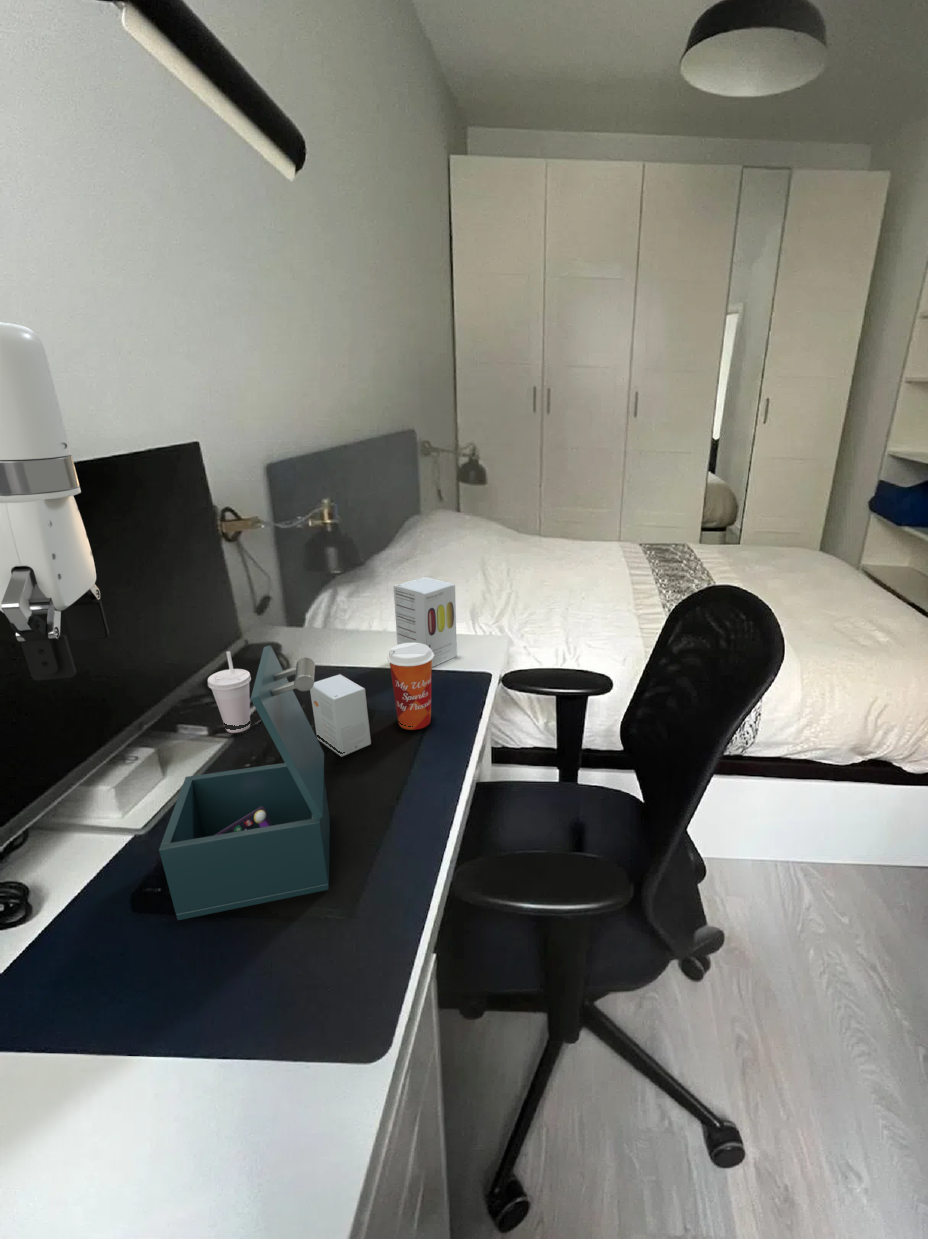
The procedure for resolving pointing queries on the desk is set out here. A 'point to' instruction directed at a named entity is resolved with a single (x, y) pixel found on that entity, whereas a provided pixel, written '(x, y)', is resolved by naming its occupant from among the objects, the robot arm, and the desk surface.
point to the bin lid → (291, 723)
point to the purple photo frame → (250, 821)
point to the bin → (243, 842)
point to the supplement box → (427, 616)
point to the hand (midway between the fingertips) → (74, 656)
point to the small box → (340, 714)
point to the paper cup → (412, 683)
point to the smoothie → (232, 695)
